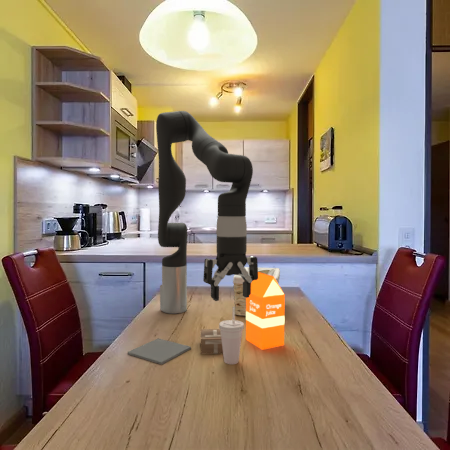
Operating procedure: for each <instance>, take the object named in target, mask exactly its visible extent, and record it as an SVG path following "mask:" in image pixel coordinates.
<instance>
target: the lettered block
mask: <svg viewBox="0 0 450 450" xmlns="http://www.w3.org/2000/svg"><path fill="white" fill-rule="evenodd" d="M200 354H201V355H202V354H203V355H204V354H208V355H210V354H213V355H215V354H223V348H222V340H221V331H220V329H219V328H203V329H202V328H201V329H200Z"/></svg>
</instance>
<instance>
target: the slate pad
mask: <svg viewBox="0 0 450 450" xmlns="http://www.w3.org/2000/svg"><path fill="white" fill-rule="evenodd" d="M189 350H192V346H190V345H187V344H182V343H178V342H174V341H169V340H167V339H163V338H159V337H158V338H155V339H153V340H151V341H148V342H147V343H144V344H142V345H140V346H138V347H136V348H133V349H131V350H129V351H127V355H129V356H132V357H135V358H137V359H138V358H139V359H142V360H146V361H148V362H152V363H156V364H159V365H163V364H166V363H168V362H169V361H171V360H173V359H175V358H177V357H178V356H181V355H182V354H184V353H186V352H188V351H189Z"/></svg>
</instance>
